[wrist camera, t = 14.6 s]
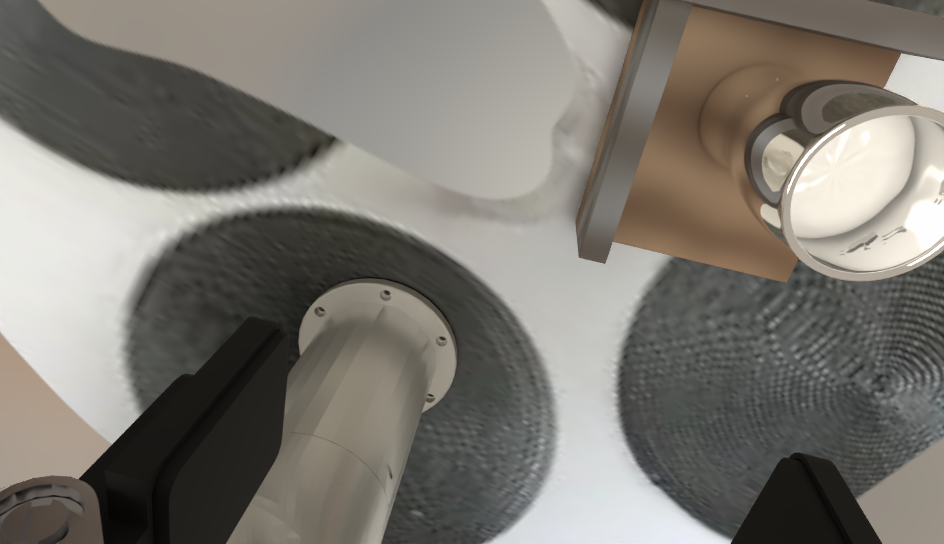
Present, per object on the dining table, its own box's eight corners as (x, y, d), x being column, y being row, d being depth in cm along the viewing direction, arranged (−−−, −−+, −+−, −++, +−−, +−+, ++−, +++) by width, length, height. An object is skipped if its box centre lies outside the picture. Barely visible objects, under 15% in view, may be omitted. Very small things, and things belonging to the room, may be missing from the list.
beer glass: (844, 111, 34) (1037, 190, 20) (746, 199, 37) (857, 320, 23) (761, 28, 33) (907, 53, 19) (665, 126, 35) (734, 208, 22)
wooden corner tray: (776, 269, 40) (824, 329, 33) (575, 222, 41) (580, 271, 34) (897, 20, 33) (991, 28, 26) (653, -35, 34) (680, -42, 26)
